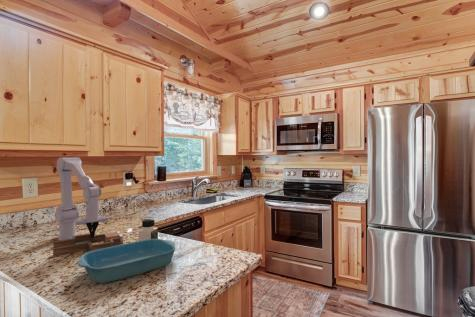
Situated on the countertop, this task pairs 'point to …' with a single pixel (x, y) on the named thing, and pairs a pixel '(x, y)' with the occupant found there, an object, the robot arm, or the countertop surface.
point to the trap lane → (84, 243)
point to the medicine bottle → (148, 230)
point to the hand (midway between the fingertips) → (92, 237)
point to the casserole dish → (127, 259)
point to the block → (111, 236)
